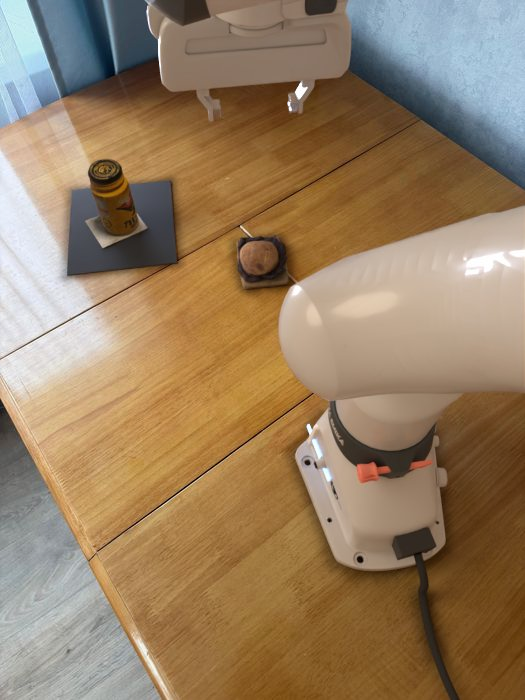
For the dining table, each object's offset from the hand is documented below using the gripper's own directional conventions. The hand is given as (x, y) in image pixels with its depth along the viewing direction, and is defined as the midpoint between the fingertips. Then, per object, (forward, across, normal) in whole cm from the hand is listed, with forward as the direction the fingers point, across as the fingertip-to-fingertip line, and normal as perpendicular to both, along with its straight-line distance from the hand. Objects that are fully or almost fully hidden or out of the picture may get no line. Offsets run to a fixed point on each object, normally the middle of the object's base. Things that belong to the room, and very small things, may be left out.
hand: (255, 114), depth 62 cm
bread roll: (+29, +1, +2) cm, 29 cm away
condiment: (+29, -23, +14) cm, 39 cm away
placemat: (+29, -22, +14) cm, 39 cm away
